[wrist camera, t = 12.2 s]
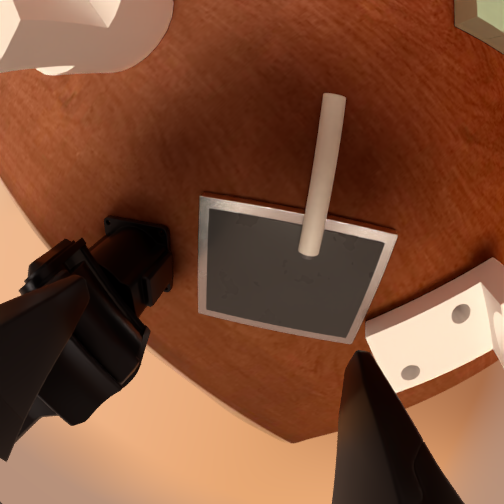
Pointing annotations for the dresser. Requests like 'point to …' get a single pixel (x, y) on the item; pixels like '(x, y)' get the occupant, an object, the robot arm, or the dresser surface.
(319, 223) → the stylus
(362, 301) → the tablet
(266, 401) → the dresser surface
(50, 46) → the cylinder with rectangular tab
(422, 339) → the bracket
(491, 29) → the pen stand
